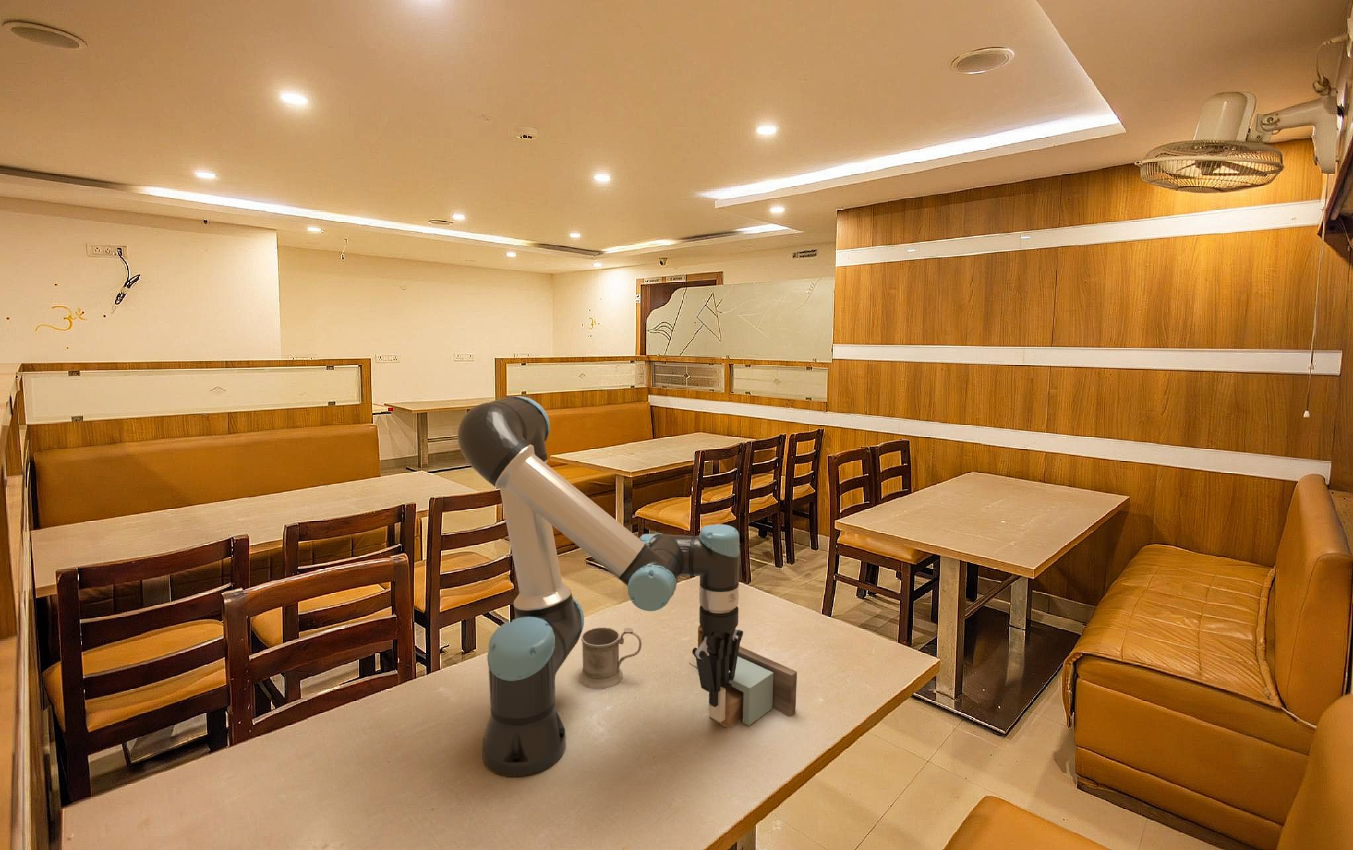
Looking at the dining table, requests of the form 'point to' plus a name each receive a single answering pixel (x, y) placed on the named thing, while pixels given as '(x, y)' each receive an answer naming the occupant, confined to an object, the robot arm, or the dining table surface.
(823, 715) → the dining table surface
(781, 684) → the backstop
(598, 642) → the mug
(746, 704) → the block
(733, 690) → the peg
